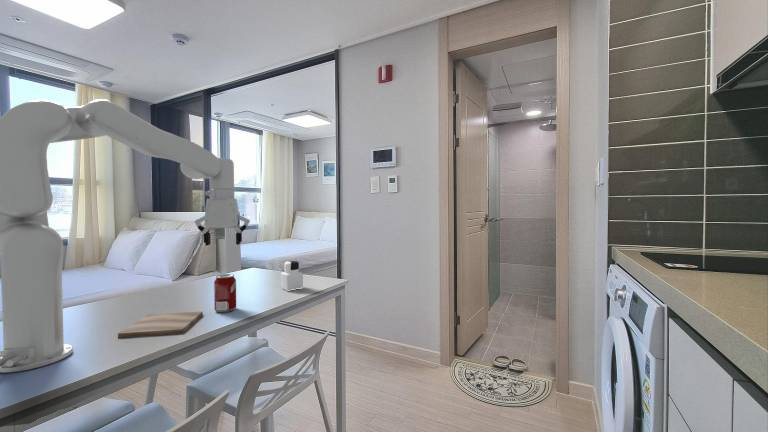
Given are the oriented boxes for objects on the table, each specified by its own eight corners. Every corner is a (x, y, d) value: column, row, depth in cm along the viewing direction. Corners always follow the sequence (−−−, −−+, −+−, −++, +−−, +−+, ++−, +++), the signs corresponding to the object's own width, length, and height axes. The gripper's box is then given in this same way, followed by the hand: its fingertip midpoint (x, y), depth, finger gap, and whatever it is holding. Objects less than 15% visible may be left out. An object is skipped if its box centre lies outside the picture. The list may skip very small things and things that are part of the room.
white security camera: (296, 286, 147) (295, 259, 147) (303, 289, 142) (302, 261, 141) (280, 288, 143) (280, 261, 142) (287, 292, 137) (287, 263, 137)
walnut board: (182, 333, 92) (182, 329, 92) (117, 337, 89) (117, 333, 89) (202, 315, 108) (202, 311, 108) (148, 318, 105) (148, 314, 105)
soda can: (227, 314, 109) (227, 278, 109) (210, 312, 110) (209, 277, 110) (240, 307, 115) (240, 274, 115) (223, 306, 117) (223, 273, 116)
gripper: (190, 194, 107) (191, 246, 107) (246, 194, 110) (247, 245, 111) (198, 195, 114) (199, 244, 114) (251, 195, 117) (252, 242, 118)
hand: (223, 244), depth 112 cm, fingers open, 9 cm apart
